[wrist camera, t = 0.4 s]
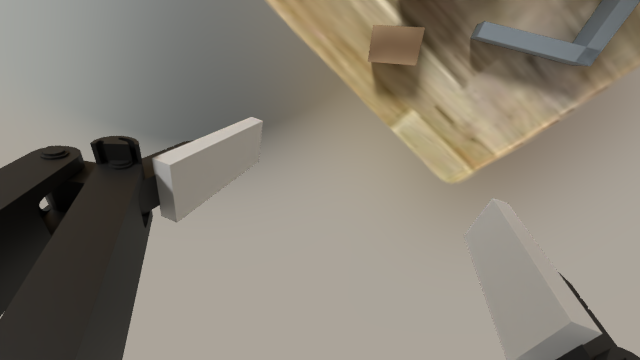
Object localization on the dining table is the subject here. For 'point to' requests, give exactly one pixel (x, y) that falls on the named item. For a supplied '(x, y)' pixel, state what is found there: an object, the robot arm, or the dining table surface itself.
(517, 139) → the dining table surface
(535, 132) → the dining table surface
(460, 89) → the dining table surface
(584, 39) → the bay
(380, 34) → the oak chock block
